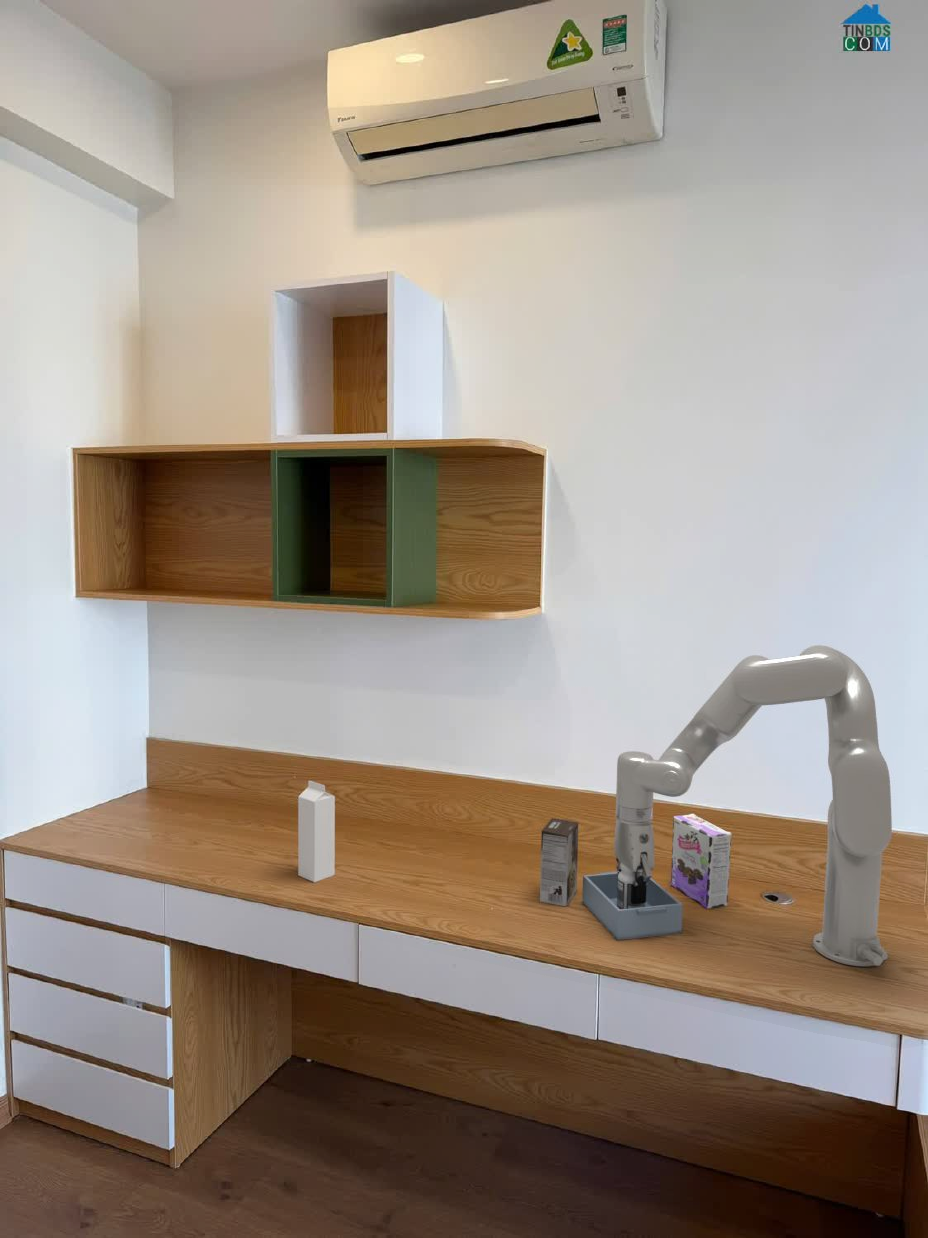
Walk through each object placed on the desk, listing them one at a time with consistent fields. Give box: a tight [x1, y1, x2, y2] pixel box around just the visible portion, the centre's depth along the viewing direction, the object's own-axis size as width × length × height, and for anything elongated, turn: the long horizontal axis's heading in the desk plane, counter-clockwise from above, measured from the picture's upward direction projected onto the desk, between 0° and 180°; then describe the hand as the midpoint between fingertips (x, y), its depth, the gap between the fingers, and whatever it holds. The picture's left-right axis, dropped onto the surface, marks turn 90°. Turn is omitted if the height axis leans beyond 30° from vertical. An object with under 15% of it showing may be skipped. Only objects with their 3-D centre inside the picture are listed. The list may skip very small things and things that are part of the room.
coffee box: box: [539, 817, 579, 907], centre depth 186 cm, size 9×6×16 cm
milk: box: [297, 780, 336, 883], centre depth 195 cm, size 6×6×22 cm
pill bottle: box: [617, 862, 645, 909], centre depth 176 cm, size 6×6×10 cm
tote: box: [581, 870, 684, 941], centre depth 176 cm, size 20×14×6 cm
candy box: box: [670, 813, 732, 909], centre depth 188 cm, size 14×6×16 cm, turn 21°
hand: (631, 895), depth 176 cm, fingers closed on pill bottle, 5 cm apart
